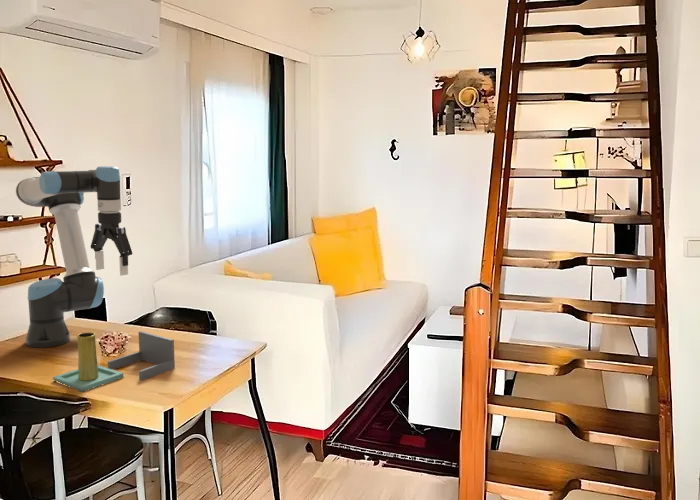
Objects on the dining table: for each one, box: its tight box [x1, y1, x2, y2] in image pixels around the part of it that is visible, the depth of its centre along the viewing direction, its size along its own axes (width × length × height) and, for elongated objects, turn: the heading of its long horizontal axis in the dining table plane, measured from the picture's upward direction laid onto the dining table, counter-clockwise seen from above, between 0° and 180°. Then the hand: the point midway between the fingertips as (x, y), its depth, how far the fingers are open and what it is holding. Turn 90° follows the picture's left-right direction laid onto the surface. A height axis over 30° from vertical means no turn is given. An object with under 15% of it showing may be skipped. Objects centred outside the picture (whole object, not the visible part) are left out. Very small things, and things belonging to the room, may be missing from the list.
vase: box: [76, 331, 99, 381], centre depth 208 cm, size 6×6×14 cm
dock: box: [107, 330, 176, 381], centre depth 219 cm, size 17×14×10 cm
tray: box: [52, 364, 124, 393], centre depth 209 cm, size 15×15×2 cm
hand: (111, 272), depth 228 cm, fingers open, 13 cm apart
